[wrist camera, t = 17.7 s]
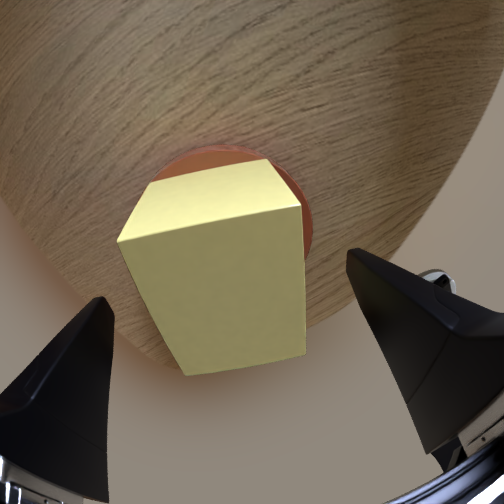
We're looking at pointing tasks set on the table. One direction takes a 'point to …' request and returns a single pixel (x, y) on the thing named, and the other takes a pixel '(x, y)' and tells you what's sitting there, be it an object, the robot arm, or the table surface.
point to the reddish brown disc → (228, 156)
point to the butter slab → (221, 266)
